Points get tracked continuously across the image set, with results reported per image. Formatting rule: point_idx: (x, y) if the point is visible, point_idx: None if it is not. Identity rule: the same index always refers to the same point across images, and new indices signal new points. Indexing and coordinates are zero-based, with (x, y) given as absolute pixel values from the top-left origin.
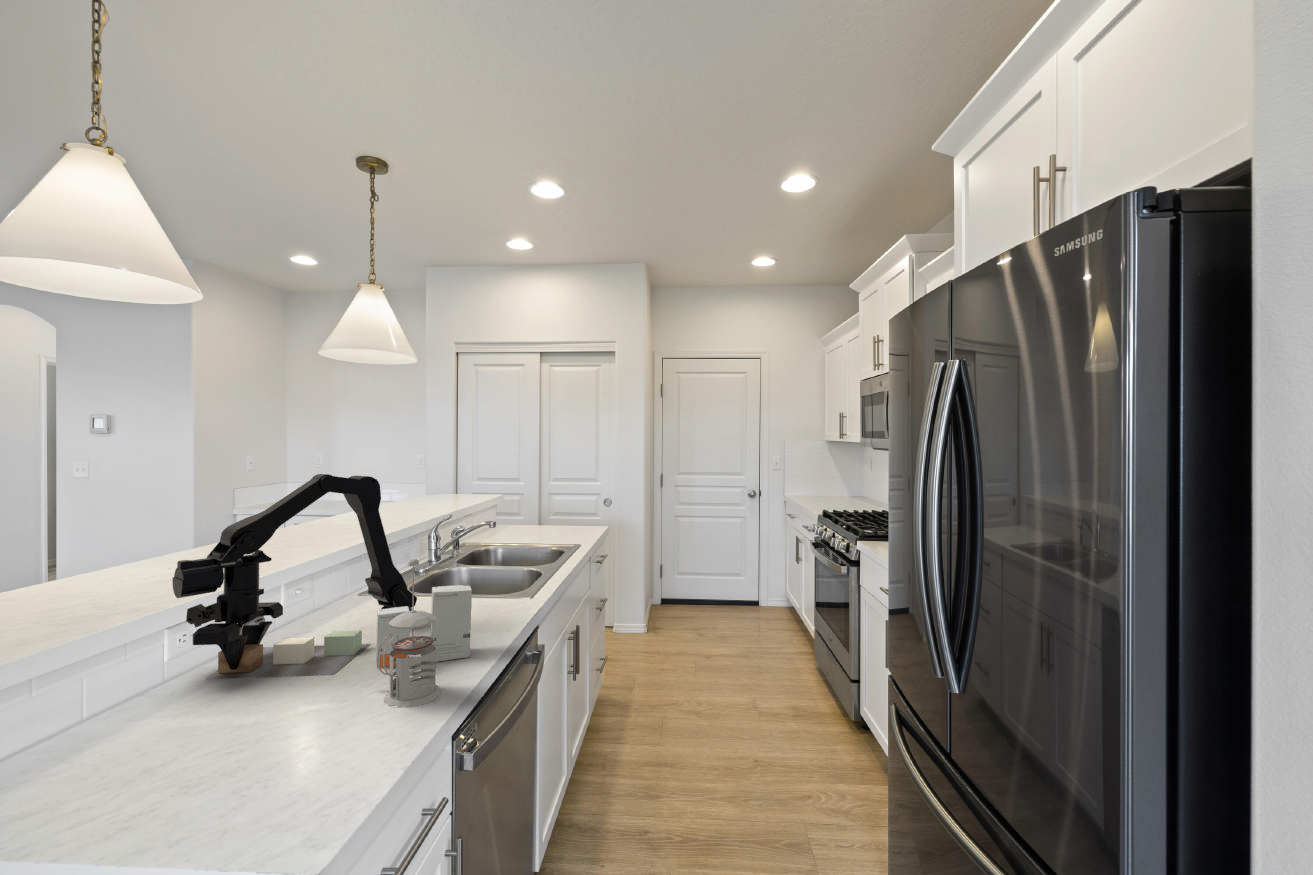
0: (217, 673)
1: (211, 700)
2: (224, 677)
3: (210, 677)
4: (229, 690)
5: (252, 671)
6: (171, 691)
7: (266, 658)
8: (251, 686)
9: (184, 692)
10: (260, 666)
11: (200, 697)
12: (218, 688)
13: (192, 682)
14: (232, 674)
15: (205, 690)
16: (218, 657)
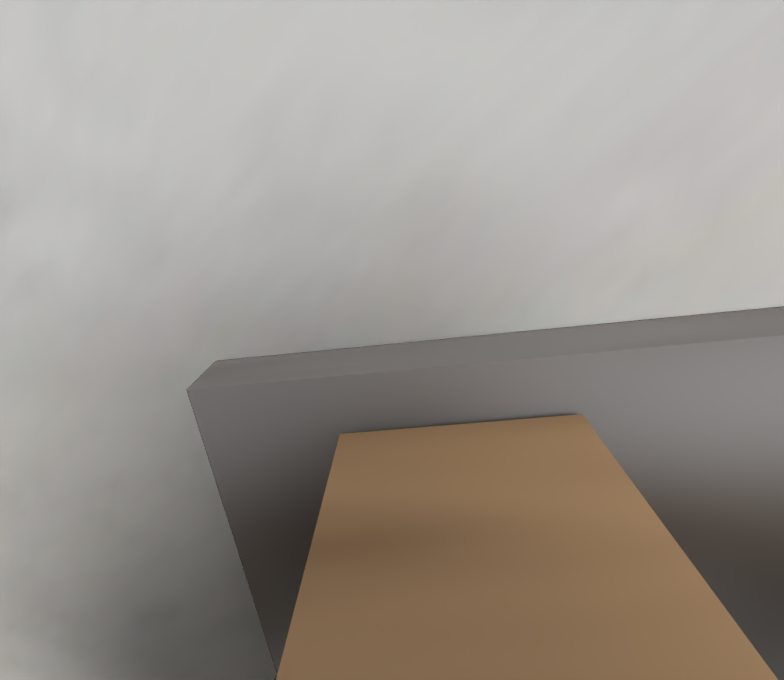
0: (351, 413)
1: (21, 597)
2: (259, 544)
3: (243, 421)
4: (179, 601)
5: None
6: (24, 144)
7: (749, 596)
8: (262, 676)
9: (52, 307)
10: None
11: (28, 504)
12: (192, 515)
13: (267, 177)
14: None
15: (137, 451)
16: (301, 595)
